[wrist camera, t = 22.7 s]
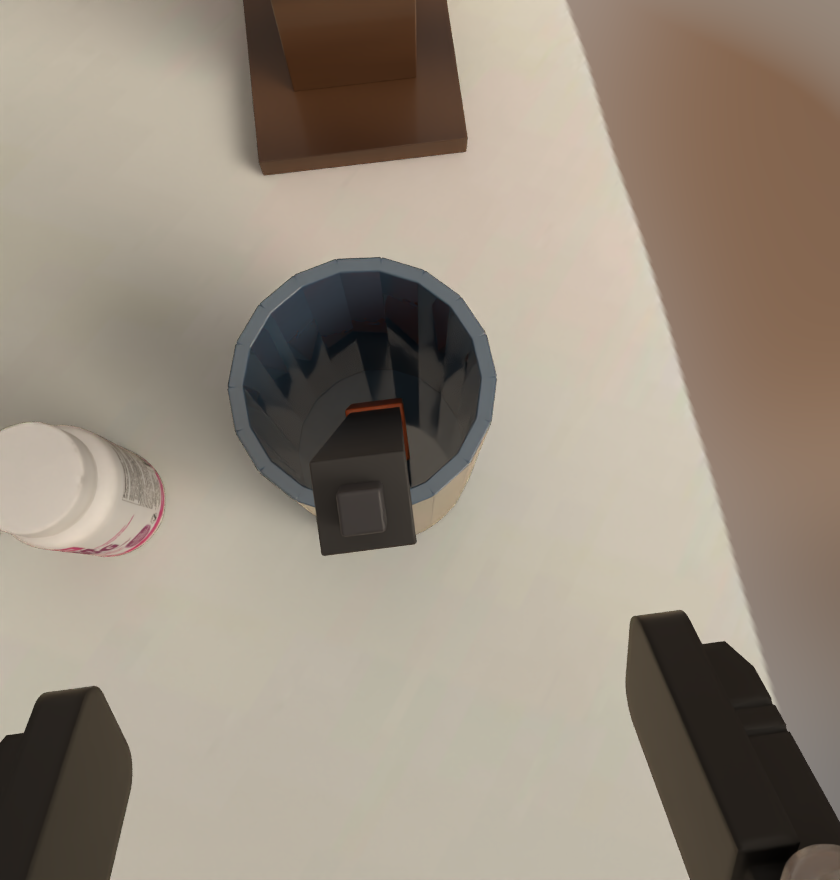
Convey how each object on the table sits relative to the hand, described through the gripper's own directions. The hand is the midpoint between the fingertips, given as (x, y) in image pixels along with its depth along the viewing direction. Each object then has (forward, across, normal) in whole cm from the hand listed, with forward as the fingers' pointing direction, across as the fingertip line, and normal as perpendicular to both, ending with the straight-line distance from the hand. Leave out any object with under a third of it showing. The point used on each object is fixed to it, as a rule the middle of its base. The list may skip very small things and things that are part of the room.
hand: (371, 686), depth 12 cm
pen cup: (+22, 0, +11) cm, 24 cm away
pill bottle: (+22, +12, +12) cm, 27 cm away
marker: (+13, 0, +5) cm, 14 cm away
